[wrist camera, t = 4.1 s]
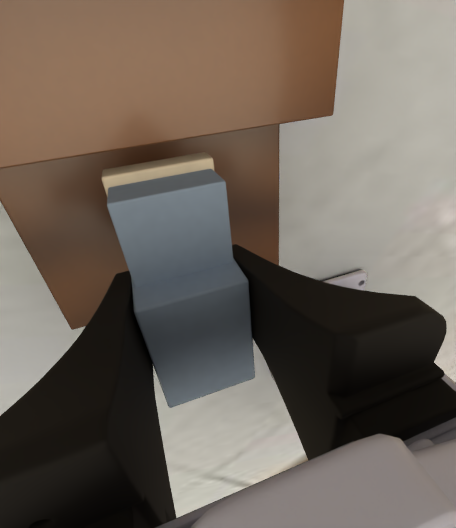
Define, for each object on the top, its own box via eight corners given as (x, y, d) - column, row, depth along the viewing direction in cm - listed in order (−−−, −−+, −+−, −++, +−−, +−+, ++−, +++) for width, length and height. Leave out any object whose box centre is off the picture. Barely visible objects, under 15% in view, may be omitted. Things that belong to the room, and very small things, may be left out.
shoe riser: (268, 259, 19) (314, 313, 15) (74, 311, 17) (60, 394, 12) (258, -219, 9) (393, -496, 5) (-229, -274, 7) (-916, -983, 2)
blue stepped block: (227, 321, 14) (256, 381, 11) (158, 342, 14) (170, 412, 11) (205, 151, 10) (242, 179, 7) (101, 169, 9) (95, 209, 6)
